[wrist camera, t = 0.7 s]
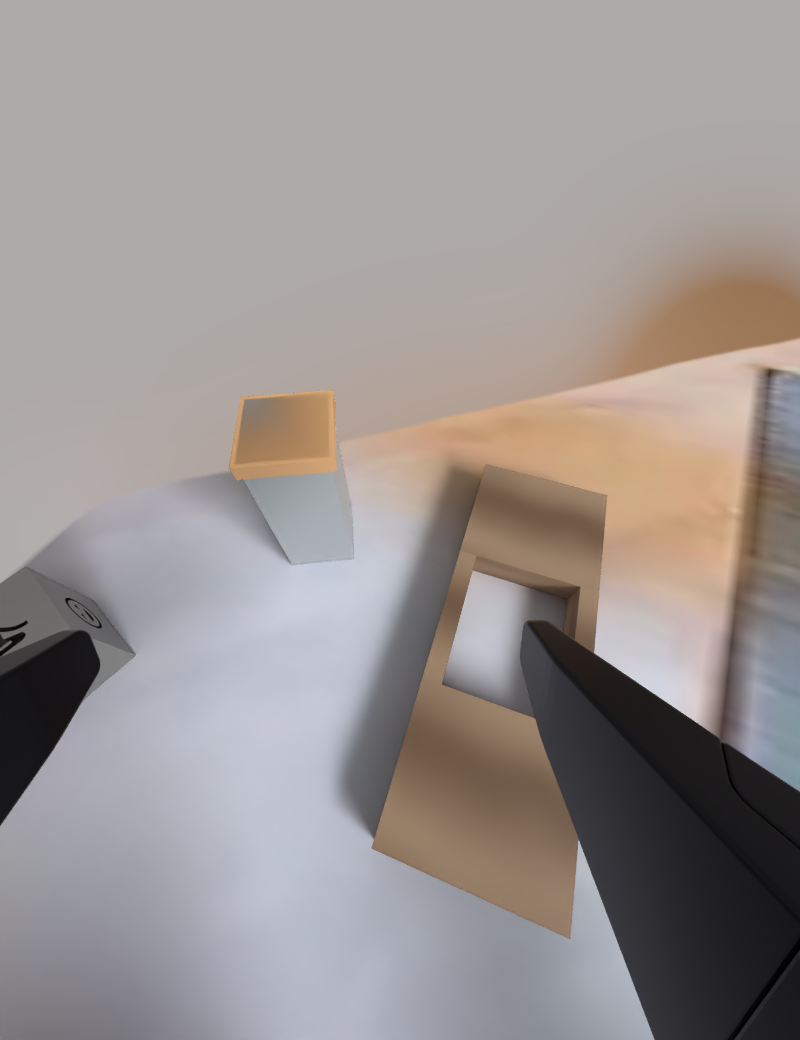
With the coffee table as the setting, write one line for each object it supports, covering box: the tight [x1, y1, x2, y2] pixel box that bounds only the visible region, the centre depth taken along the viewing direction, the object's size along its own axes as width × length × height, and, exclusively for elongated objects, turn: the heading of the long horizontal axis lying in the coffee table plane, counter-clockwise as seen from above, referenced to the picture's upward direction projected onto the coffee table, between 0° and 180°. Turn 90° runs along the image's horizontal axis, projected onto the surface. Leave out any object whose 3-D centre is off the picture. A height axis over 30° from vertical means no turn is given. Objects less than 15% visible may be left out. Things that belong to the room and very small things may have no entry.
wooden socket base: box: [372, 464, 607, 939], centre depth 21 cm, size 22×8×2 cm, turn 160°
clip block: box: [229, 390, 354, 565], centre depth 22 cm, size 4×4×10 cm
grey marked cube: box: [0, 567, 135, 700], centre depth 20 cm, size 5×5×5 cm
